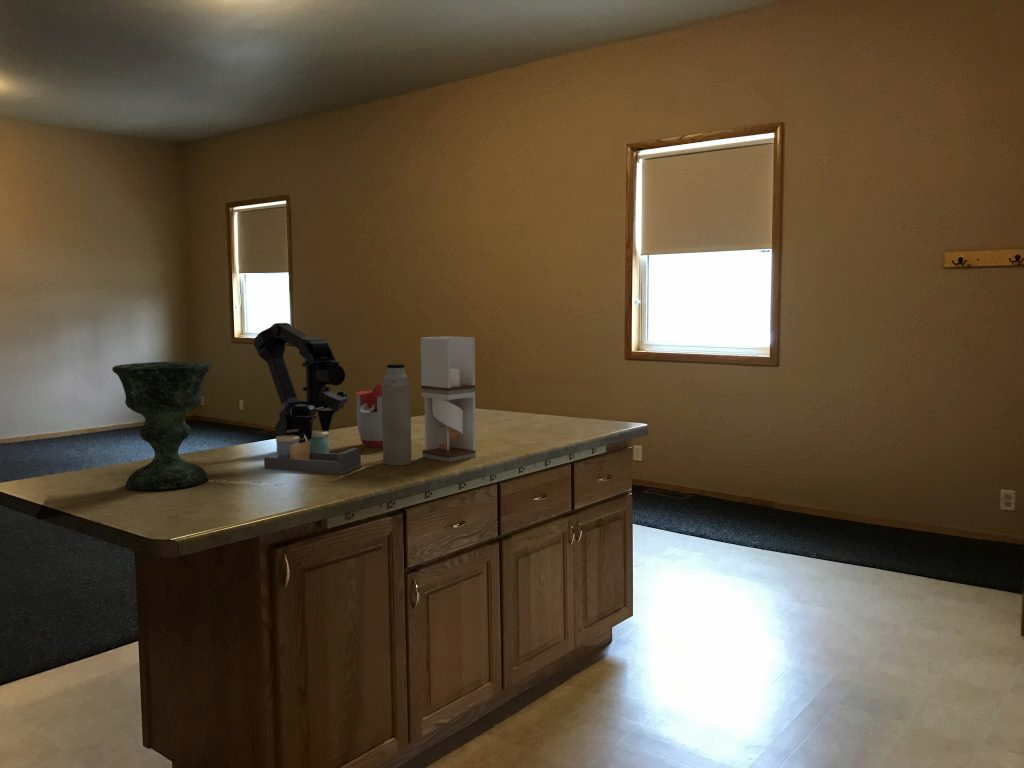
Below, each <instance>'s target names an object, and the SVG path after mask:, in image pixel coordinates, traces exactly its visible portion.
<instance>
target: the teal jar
mask: <svg viewBox="0 0 1024 768" xmlns="http://www.w3.org/2000/svg"><path fill="white" fill-rule="evenodd" d="M329 433H330V432H329V431H322V430H312V437H311V439H310V440H308V439H307V438H306V441H307V442H309V446H310V452H319V453H330V450H329V449H330V446H329V443H330V441H329V435H330V434H329Z"/></svg>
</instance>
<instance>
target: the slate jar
mask: <svg viewBox="0 0 1024 768" xmlns="http://www.w3.org/2000/svg"><path fill="white" fill-rule="evenodd" d="M299 440H300V436H298V435H282V436H281V435H277V436H276V437H275V442H276V458H290V446H292V445H295V444H299Z"/></svg>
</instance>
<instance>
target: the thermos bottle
mask: <svg viewBox="0 0 1024 768" xmlns="http://www.w3.org/2000/svg"><path fill="white" fill-rule="evenodd" d="M386 368H387V369H386V375H384V376H383V383H382V429H383V448H382V463H383V465H386V464H387V466H404V465H408V464H411V463H412V417H411V416H412V415H411V414H412V413H411V411H412V409H411V408H412V407H411V405H412V404H411V401H412V400H411V399H412V398H411V383H409V382H408V381H409V377H408V375H407V374H406V372H405V364H403V363H391V364H389V363H388V364H386Z"/></svg>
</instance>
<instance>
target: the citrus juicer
mask: <svg viewBox="0 0 1024 768" xmlns="http://www.w3.org/2000/svg"><path fill="white" fill-rule="evenodd" d="M382 384H383V383H382V382H379V383H377V384H376V386H374V388H373V389H371V390H362V391H361V390H360V391H357V392H355V395H356V422H357V423H356V425H357V429H358V430H357V431H358V434H359V438H360V441H361V443H362V445H363V446H364V447H365V446H368V447H369V448H382V447H383V429H382ZM368 447H367V448H368Z"/></svg>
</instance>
